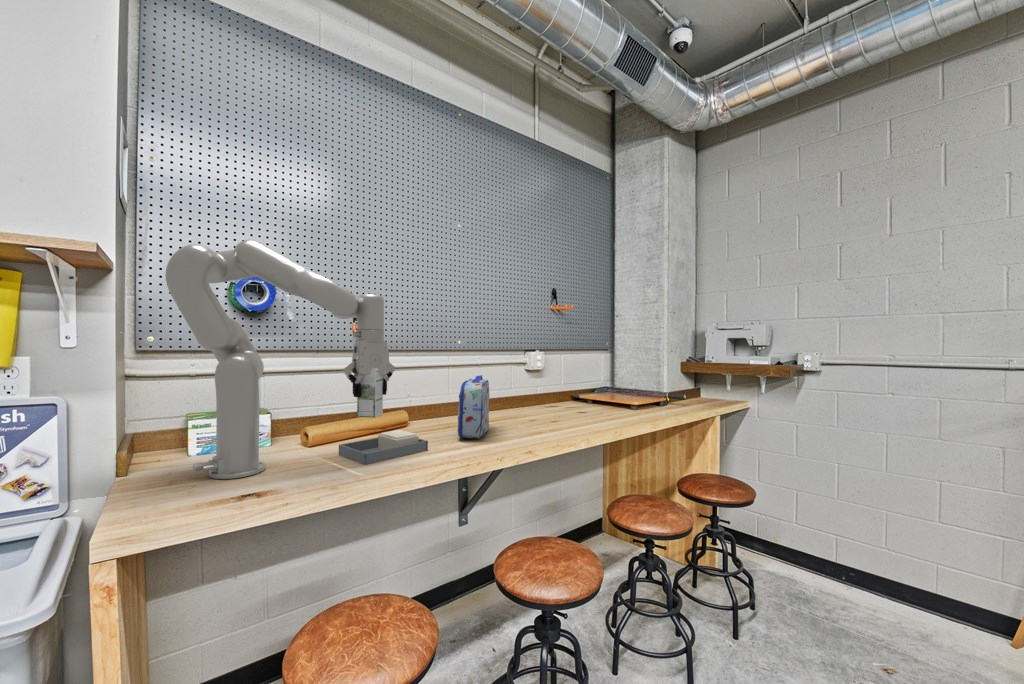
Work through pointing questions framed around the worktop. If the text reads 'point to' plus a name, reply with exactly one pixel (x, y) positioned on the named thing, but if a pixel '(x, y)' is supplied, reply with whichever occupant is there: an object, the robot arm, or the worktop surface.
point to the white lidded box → (396, 439)
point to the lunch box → (473, 408)
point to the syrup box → (371, 395)
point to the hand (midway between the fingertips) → (370, 395)
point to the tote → (378, 450)
